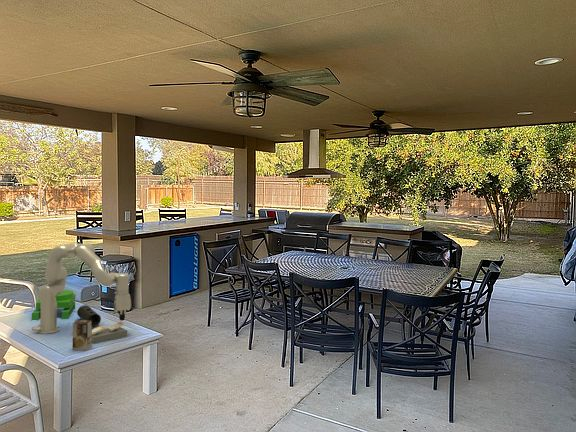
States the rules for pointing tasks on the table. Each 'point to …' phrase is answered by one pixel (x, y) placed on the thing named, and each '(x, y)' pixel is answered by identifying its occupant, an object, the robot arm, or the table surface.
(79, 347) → the coffee box
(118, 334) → the switch block
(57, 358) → the table surface
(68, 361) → the table surface
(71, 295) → the tank
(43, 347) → the table surface
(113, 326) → the far rocker
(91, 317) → the muzzle brake
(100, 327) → the block
